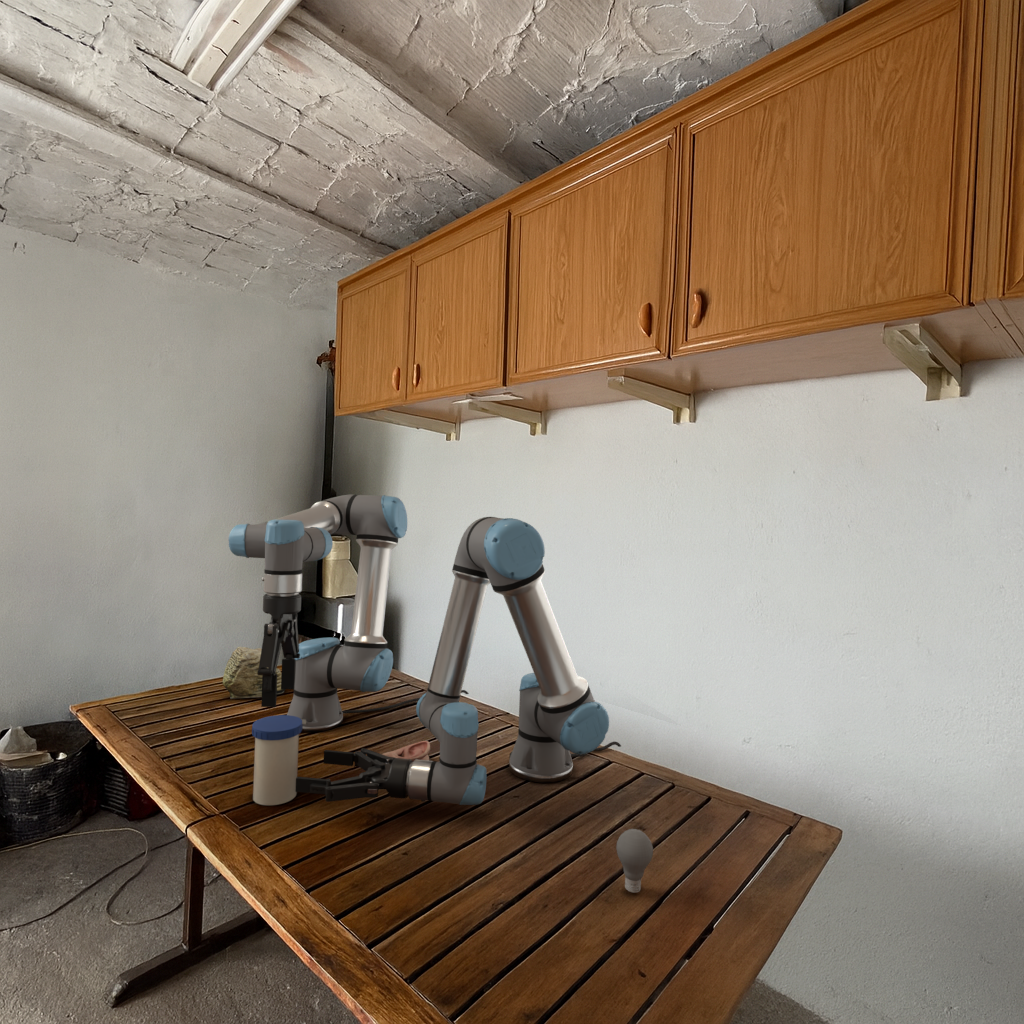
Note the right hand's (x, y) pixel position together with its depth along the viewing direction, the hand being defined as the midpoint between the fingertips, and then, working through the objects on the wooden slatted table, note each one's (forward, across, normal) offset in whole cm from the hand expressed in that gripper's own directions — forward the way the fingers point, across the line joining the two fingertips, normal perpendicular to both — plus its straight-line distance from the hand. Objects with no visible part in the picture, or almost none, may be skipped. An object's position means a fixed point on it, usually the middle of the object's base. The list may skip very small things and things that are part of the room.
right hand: (310, 769), depth 132 cm
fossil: (+46, +61, -6) cm, 77 cm away
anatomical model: (-13, +22, -6) cm, 27 cm away
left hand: (+8, +1, +14) cm, 16 cm away
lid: (+8, +1, +9) cm, 12 cm away
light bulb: (-65, -19, -6) cm, 68 cm away
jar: (+8, +1, -6) cm, 10 cm away
